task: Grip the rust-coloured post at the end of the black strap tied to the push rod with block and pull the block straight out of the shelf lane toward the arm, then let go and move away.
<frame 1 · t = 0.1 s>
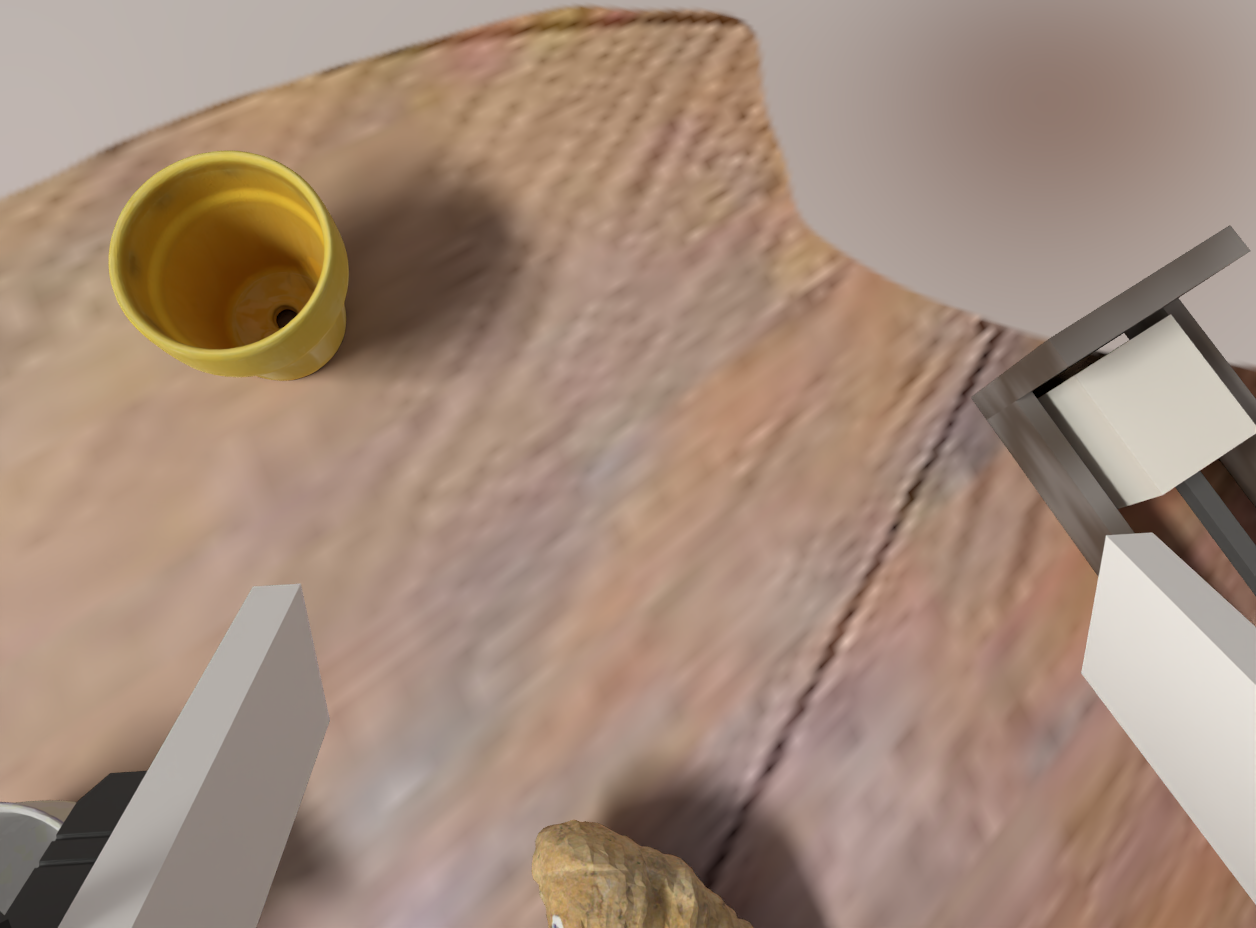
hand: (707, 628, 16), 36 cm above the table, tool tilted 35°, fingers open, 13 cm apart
plant pot: (290, 323, 55), on the table
teacup: (107, 905, 49), on the table
shelf lane: (1163, 507, 53), on the table
push rod with block: (1107, 431, 54), resting in shelf lane
seashell: (660, 915, 49), on the table
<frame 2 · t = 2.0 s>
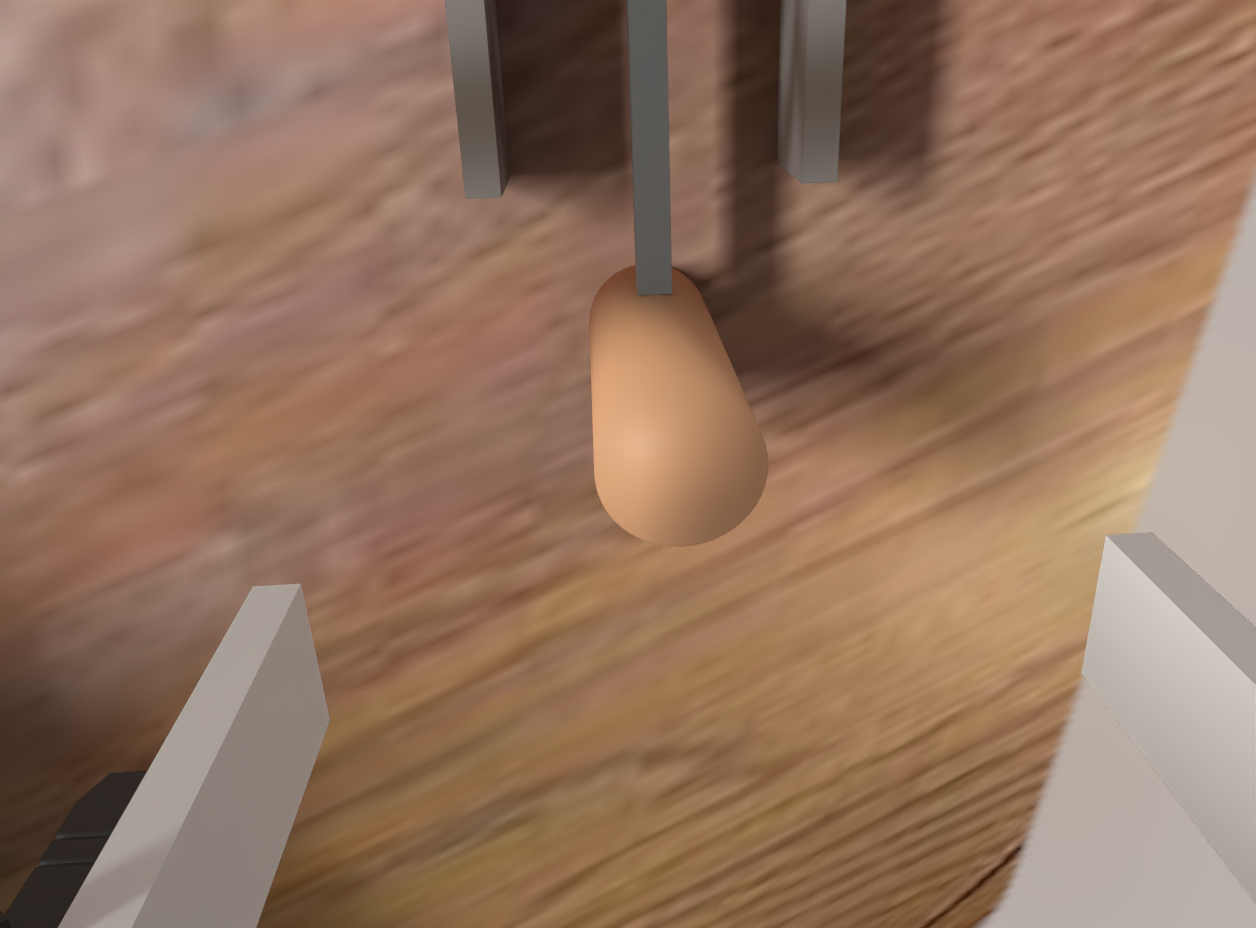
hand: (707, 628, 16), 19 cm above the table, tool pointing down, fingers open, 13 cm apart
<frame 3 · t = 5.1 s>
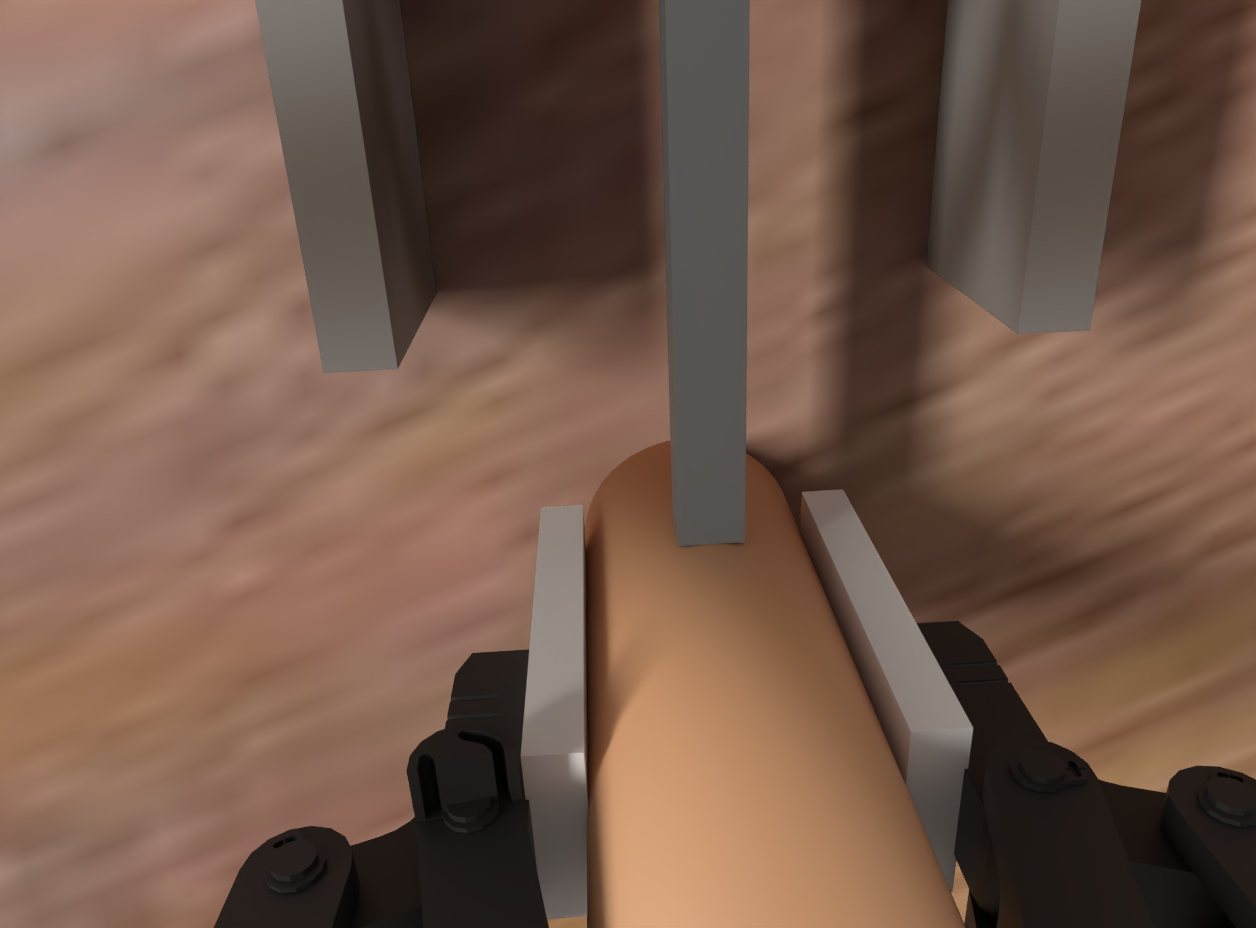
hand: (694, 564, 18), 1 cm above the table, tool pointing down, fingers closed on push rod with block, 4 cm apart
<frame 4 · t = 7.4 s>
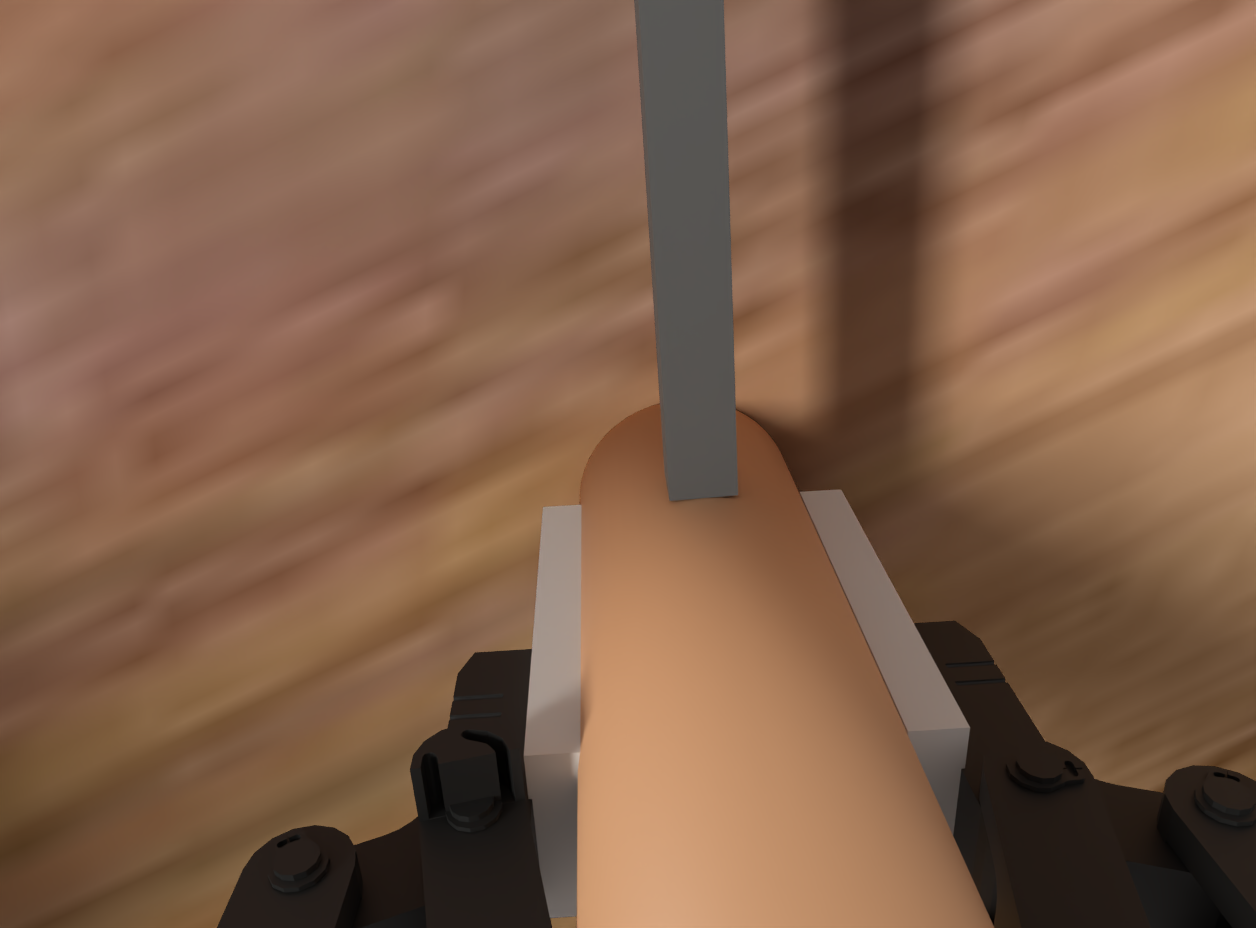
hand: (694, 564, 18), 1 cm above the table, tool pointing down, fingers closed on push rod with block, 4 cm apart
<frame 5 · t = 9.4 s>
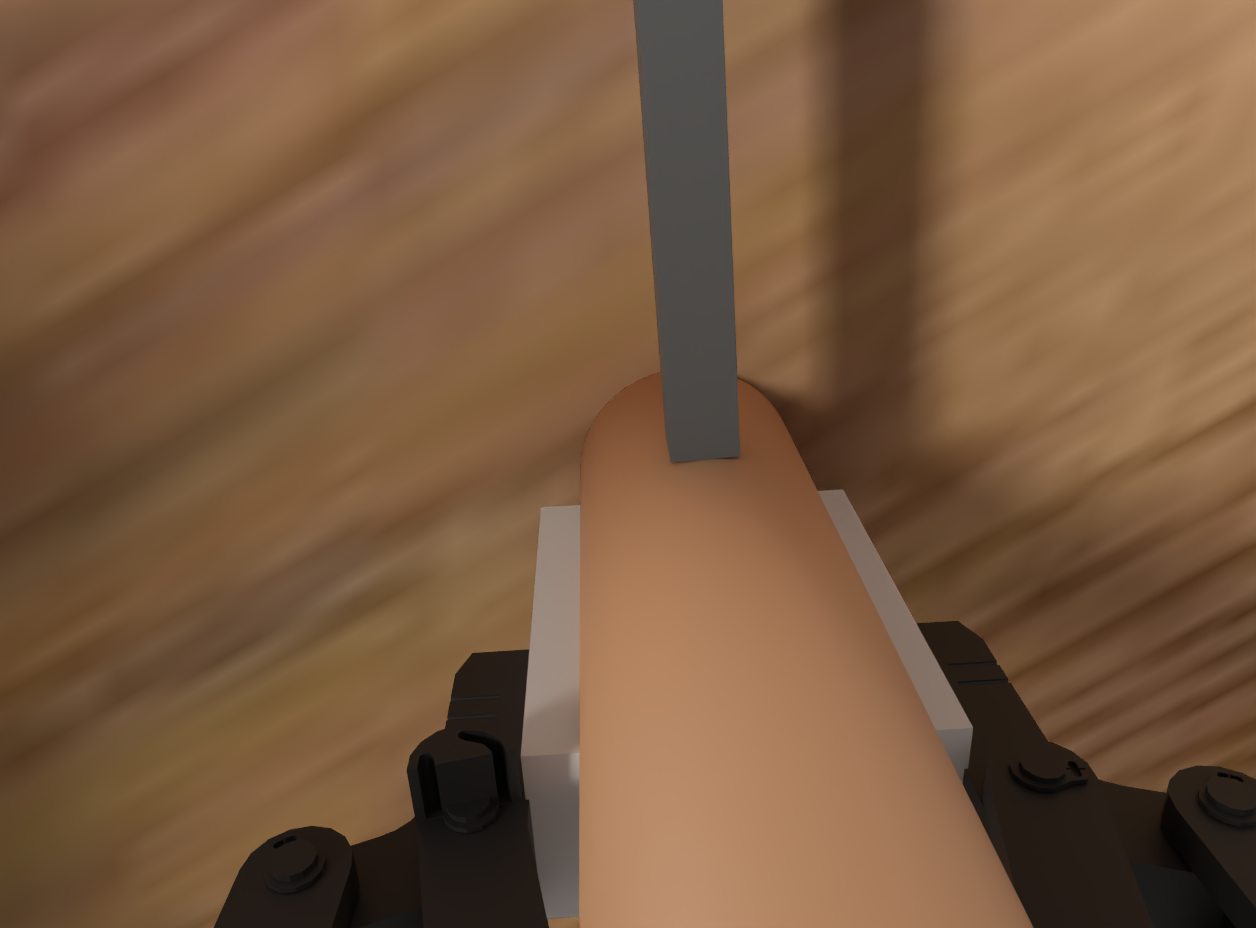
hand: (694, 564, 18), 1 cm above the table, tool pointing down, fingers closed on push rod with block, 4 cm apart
when the fingers open (1 cm above the table, at t = 10.3 s): push rod with block stays where it is, on the table.
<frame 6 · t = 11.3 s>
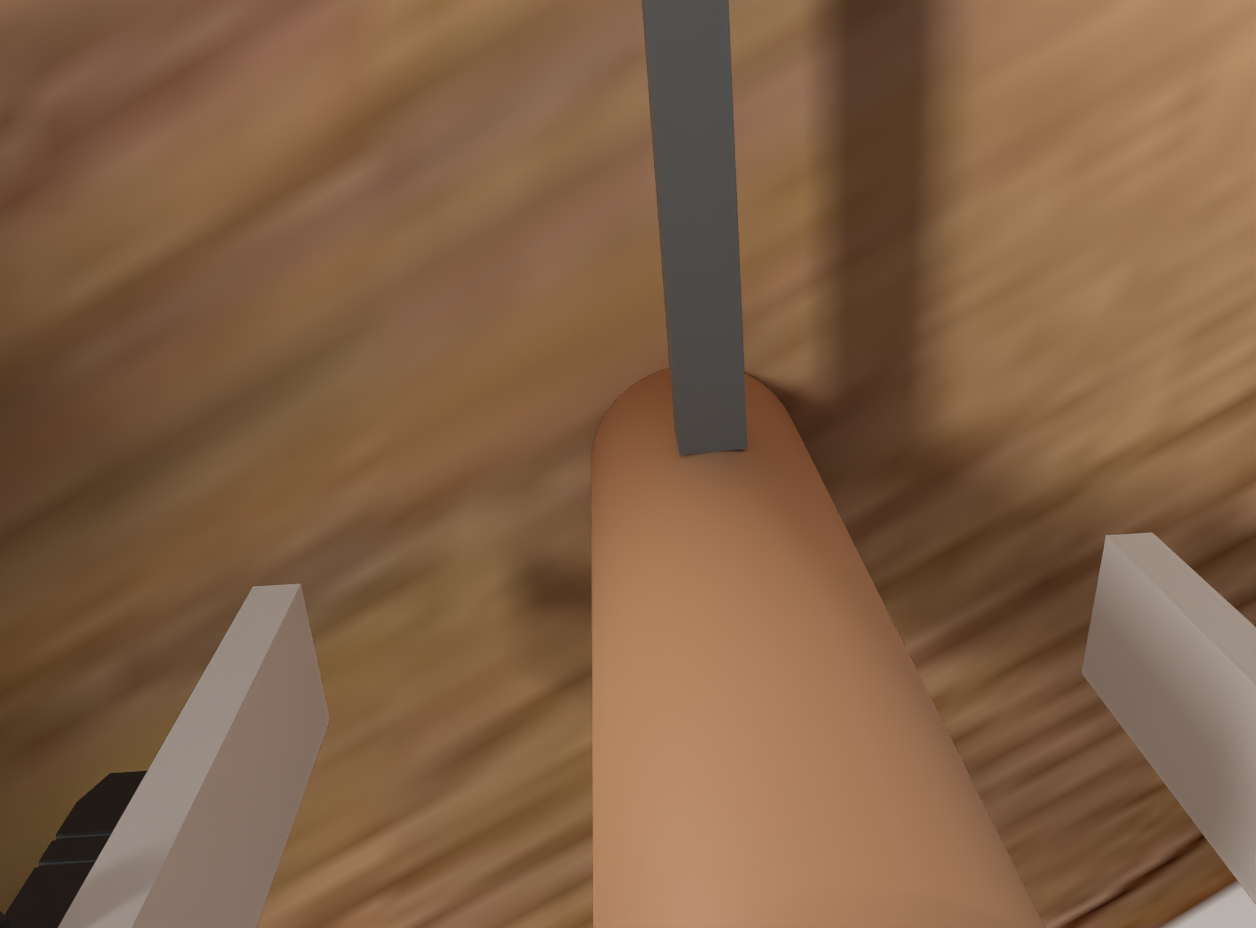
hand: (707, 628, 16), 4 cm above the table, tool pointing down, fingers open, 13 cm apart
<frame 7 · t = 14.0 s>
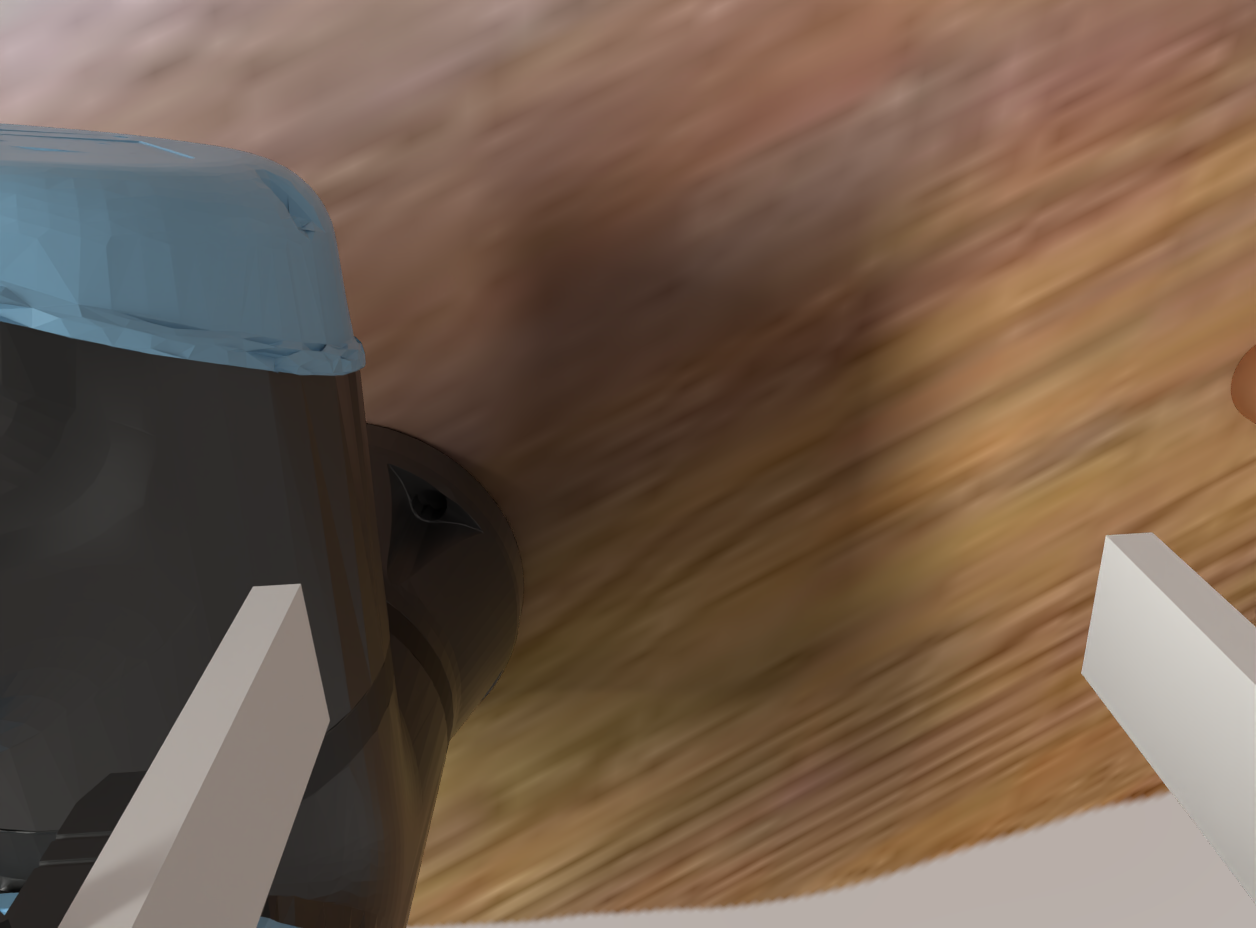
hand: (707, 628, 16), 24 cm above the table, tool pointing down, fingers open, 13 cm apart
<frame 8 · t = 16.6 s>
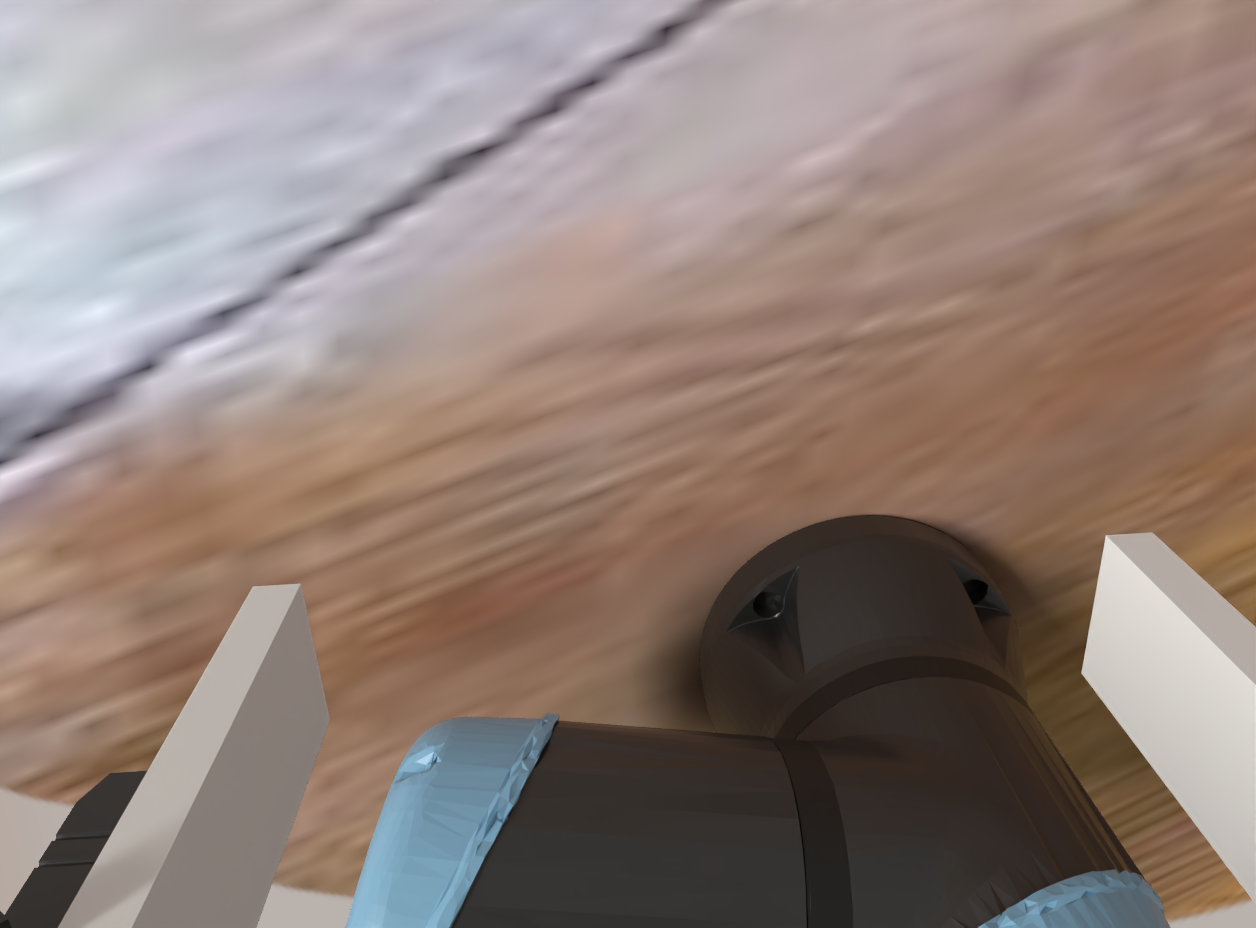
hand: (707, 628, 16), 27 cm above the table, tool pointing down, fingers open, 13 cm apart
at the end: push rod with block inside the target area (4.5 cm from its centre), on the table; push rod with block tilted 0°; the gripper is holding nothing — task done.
